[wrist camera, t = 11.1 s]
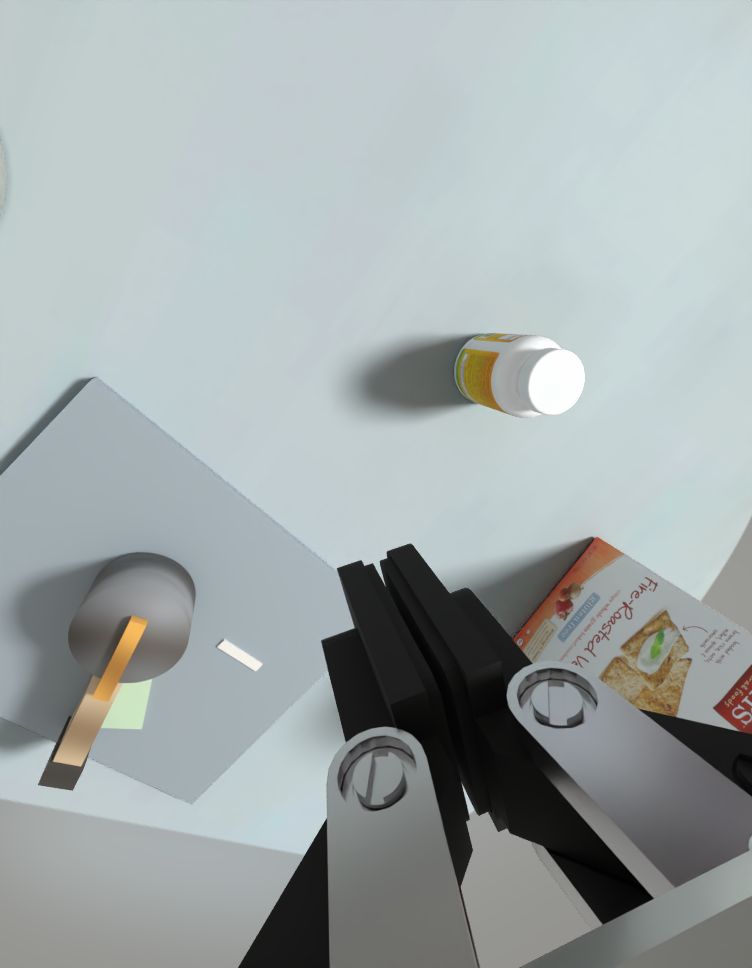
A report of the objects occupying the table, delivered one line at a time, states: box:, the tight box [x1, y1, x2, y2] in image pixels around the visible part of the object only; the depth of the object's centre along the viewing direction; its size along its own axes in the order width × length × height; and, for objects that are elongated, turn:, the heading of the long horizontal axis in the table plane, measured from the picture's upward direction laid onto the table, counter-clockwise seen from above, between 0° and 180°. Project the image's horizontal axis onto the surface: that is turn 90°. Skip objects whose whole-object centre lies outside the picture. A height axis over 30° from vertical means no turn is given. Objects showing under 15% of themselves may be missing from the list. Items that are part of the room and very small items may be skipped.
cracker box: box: [513, 537, 752, 734], centre depth 39 cm, size 14×6×21 cm, turn 142°
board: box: [0, 377, 354, 804], centre depth 37 cm, size 28×24×1 cm
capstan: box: [38, 553, 196, 791], centre depth 34 cm, size 16×7×6 cm, turn 150°
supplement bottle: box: [454, 333, 585, 418], centre depth 34 cm, size 5×5×10 cm
